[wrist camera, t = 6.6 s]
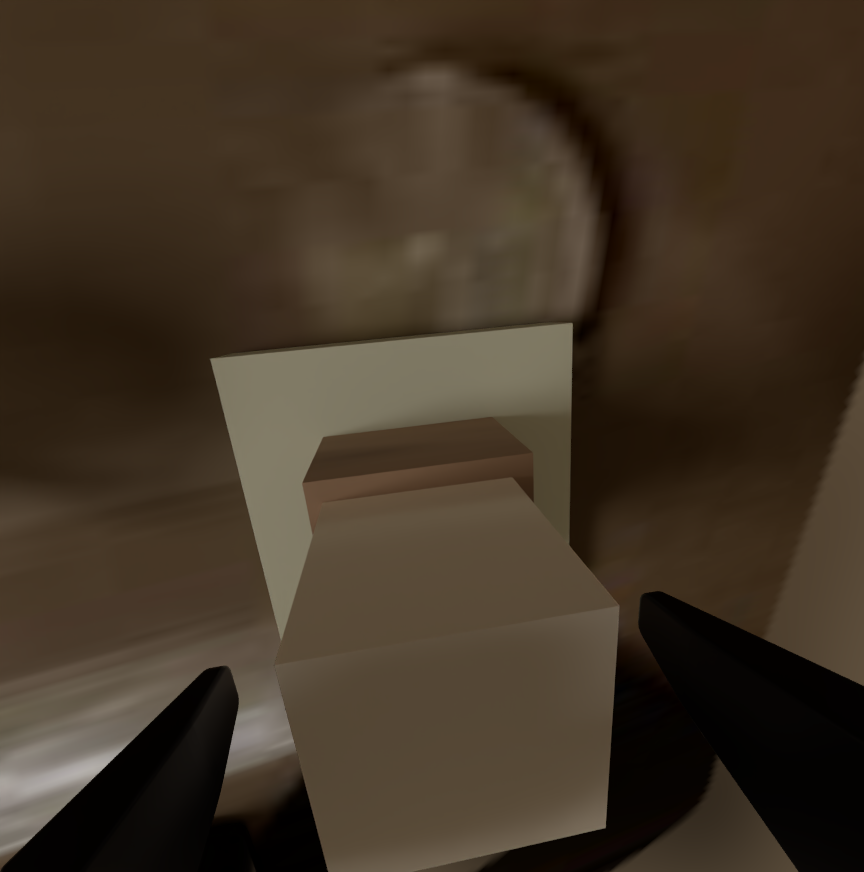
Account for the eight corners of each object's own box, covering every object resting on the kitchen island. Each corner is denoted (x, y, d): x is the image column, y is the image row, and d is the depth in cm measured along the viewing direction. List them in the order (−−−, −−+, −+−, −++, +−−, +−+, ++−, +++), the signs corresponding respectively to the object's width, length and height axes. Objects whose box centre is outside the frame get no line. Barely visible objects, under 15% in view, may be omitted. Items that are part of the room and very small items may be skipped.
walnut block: (498, 559, 16) (535, 634, 12) (349, 583, 16) (339, 669, 12) (492, 416, 14) (533, 452, 11) (323, 437, 14) (302, 482, 10)
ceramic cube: (516, 627, 12) (605, 828, 7) (351, 656, 12) (333, 890, 7) (512, 477, 11) (618, 605, 6) (322, 502, 10) (274, 665, 5)
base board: (549, 580, 19) (568, 608, 17) (295, 621, 18) (285, 657, 16) (549, 322, 16) (572, 322, 14) (232, 353, 14) (210, 358, 13)
